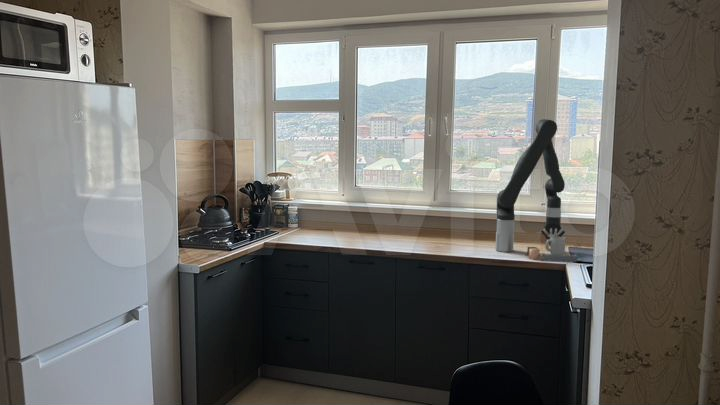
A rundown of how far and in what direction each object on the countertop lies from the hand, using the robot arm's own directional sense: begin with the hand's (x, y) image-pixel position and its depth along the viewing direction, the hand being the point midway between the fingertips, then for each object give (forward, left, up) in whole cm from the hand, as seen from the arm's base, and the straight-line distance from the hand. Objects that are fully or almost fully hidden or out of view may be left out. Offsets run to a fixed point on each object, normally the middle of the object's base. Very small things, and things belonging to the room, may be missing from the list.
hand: (551, 247), depth 288 cm
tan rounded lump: (-12, -22, -2) cm, 26 cm away
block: (-12, -13, -2) cm, 18 cm away
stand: (0, -24, -2) cm, 24 cm away
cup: (0, -8, -2) cm, 9 cm away
